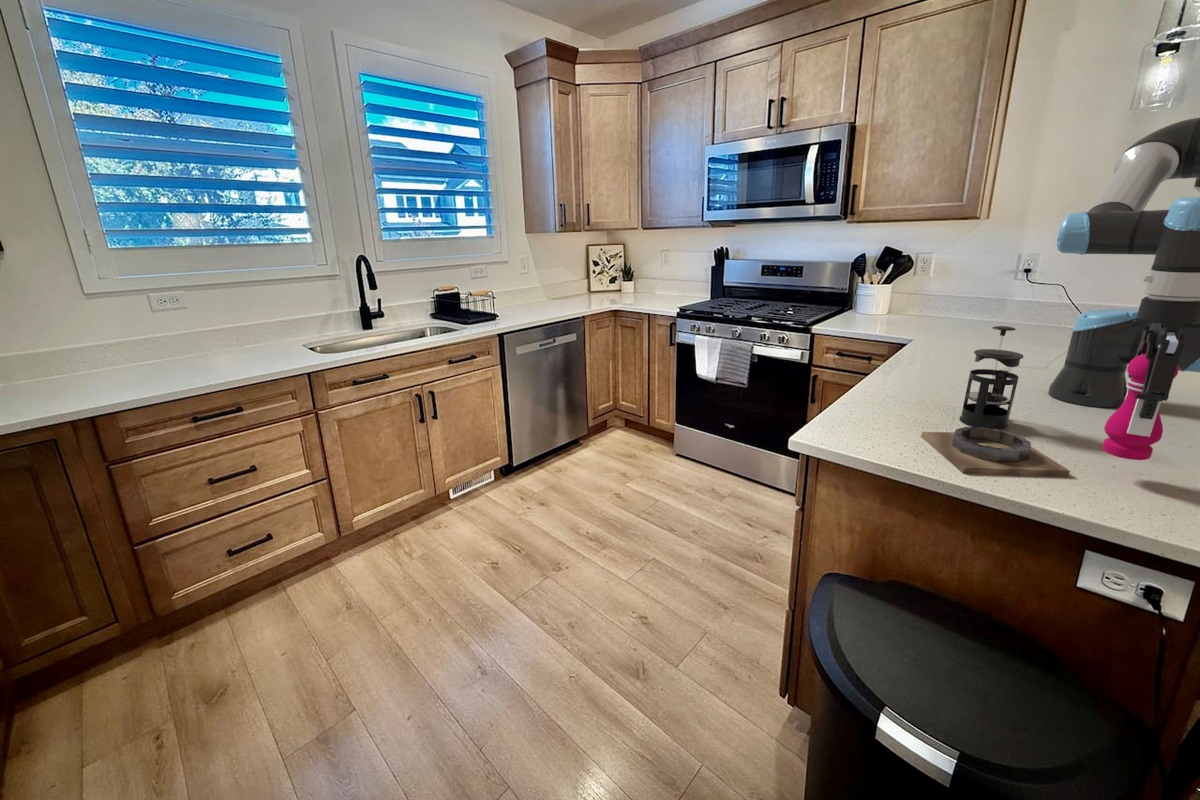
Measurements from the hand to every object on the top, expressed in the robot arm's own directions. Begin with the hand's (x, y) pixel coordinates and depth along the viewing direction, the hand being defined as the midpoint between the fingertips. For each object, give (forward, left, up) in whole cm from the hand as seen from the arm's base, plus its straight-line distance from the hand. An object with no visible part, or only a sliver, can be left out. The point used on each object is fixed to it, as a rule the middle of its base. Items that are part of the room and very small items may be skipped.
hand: (1133, 426), depth 91 cm
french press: (+8, -28, -10) cm, 31 cm away
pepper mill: (0, 0, -5) cm, 5 cm away
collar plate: (+17, -9, -10) cm, 22 cm away
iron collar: (+17, -9, -9) cm, 21 cm away
